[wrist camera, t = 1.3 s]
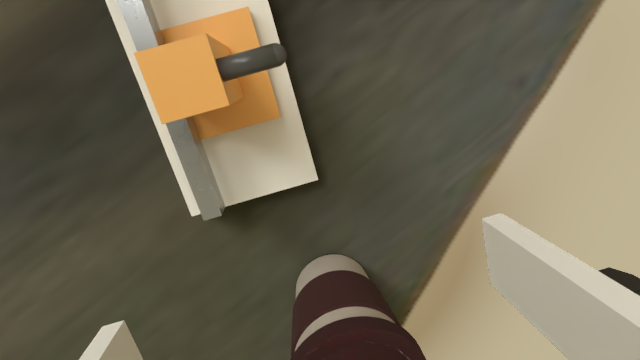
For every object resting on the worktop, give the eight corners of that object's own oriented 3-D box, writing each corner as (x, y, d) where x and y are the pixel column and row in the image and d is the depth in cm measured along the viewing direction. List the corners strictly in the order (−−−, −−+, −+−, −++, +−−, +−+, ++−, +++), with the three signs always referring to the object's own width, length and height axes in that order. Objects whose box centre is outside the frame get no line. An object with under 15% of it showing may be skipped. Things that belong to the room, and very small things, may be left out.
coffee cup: (307, 341, 39) (325, 495, 25) (265, 266, 36) (258, 391, 22) (392, 302, 39) (460, 434, 24) (357, 223, 36) (411, 321, 22)
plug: (155, 42, 30) (68, 17, 17) (268, 11, 30) (263, -35, 17) (191, 137, 32) (137, 175, 19) (295, 107, 32) (307, 127, 20)
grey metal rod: (84, -84, 23) (67, -99, 21) (125, -95, 23) (111, -110, 21) (201, 213, 29) (195, 223, 27) (232, 204, 29) (229, 213, 27)
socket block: (82, -95, 27) (46, -126, 23) (229, -133, 27) (220, -171, 23) (199, 204, 34) (188, 222, 29) (314, 171, 34) (320, 184, 30)
